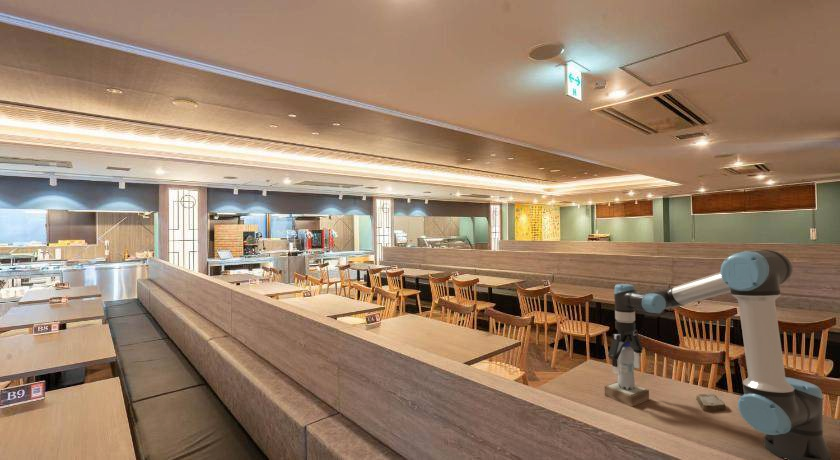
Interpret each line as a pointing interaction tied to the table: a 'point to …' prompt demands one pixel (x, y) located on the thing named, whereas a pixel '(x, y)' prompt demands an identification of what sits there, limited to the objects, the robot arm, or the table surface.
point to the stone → (710, 402)
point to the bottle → (626, 367)
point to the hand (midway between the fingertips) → (626, 370)
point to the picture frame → (627, 394)
